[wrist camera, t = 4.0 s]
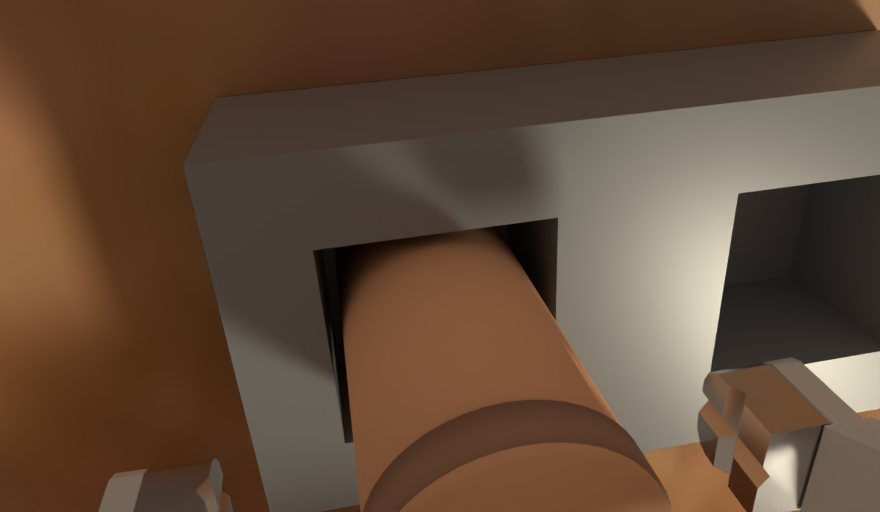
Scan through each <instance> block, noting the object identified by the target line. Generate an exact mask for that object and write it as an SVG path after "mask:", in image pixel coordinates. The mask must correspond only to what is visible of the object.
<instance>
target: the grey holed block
mask: <svg viewBox="0 0 880 512" xmlns="http://www.w3.org/2000/svg"><path fill="white" fill-rule="evenodd" d="M183 169H184V173H185V177H186V181H187V185H188V189H189V193H190V197H191V201H192V205H193V209H194V213H195V217H196V221H197V225H198V228H199V232H200V236H201V240H202V244H203V248H204V252H205V256H206V260H207V264H208V268H209V272H210V276H211V280H212V284H213V288H214V292H215V296H216V300H217V304H218V308H219V312H220V316H221V320H222V324H223V328H224V332H225V336H226V340H227V344H228V348H229V352H230V356H231V360H232V364H233V368H234V372H235V376H236V380H237V384H238V388H239V391H240V395H241V399H242V403H243V407H244V411H245V415H246V419H247V423H248V427H249V431H250V435H251V439H252V443H253V447H254V451H255V455H256V459H257V463H258V467H259V471H260V475H261V479H262V483H263V487H264V491H265V495H266V499H267V503H268V507H269V511H270V512H323V511H328V510H334V509H339V508H345V507H350V506H355V505H360V503H359V493H358V483H357V473H356V462H355V452H354V442H353V432H352V422H351V412H350V401H349V391H348V381H347V371H346V361H345V351H344V341H343V330H342V320H341V310H340V300H339V290H338V280H337V270H336V257H335V256H336V247H342V246H350V245H357V244H365V243H372V242H380V241H387V240H394V239H402V238H409V237H417V236H424V235H432V234H439V233H447V232H454V231H462V230H469V229H477V228H484V227H492V226H497V228H498V230H499V231H500V233H501V234H502V236H503V238H504V239H505V241H506V242H507V244H508V246H509V247H510V249H511V250H512V252H513V254H514V255H515V257H516V258H517V260H518V262H519V263H520V265H521V266H522V268H523V270H524V271H525V273H526V274H527V276H528V278H529V279H530V281H531V282H532V284H533V286H534V287H535V289H536V290H537V292H538V294H539V295H540V297H541V298H542V300H543V301H544V303H545V305H546V306H547V308H548V309H549V311H550V313H551V314H552V316H553V317H554V319H555V321H556V322H557V324H558V325H559V327H560V329H561V330H562V332H563V333H564V335H565V337H566V338H567V340H568V341H569V343H570V345H571V346H572V348H573V349H574V351H575V353H576V354H577V356H578V357H579V359H580V361H581V362H582V364H583V365H584V367H585V369H586V370H587V372H588V373H589V375H590V377H591V378H592V380H593V381H594V383H595V385H596V386H597V388H598V389H599V391H600V393H601V394H602V396H603V397H604V399H605V401H606V402H607V404H608V405H609V407H610V409H611V410H612V412H613V413H614V415H615V417H616V418H617V420H618V421H619V423H620V425H621V426H622V427H623V428H624V429H625V430H626V431H627V432H628V433H629V435H630V436H631V437H632V438H633V439H634V441H635V442H636V444H637V445H638V447H639V448H640V450H641V452H647V451H653V450H658V449H664V448H669V447H674V446H680V445H685V444H691V443H696V442H700V440H699V435H698V430H697V422H698V413H699V411H700V409H701V408H702V407H703V406H704V405H705V404H706V402H707V401H708V398H707V397H706V396H705V395H704V393H703V392H702V389H703V383H704V379H705V378H706V376H707V375H708V373H710V372H716V371H721V370H727V369H732V368H738V367H743V366H749V365H754V364H763V363H764V362H769V361H774V360H779V359H785V358H790V357H792V358H795V359H797V360H799V361H801V362H802V363H803V364H804V365H805V366H806V367H807V368H808V369H810V370H811V371H812V372H813V373H814V374H815V375H816V376H817V377H818V378H819V379H820V380H821V381H823V382H824V383H825V384H826V385H827V386H828V387H829V388H830V389H831V390H832V391H833V392H834V393H835V394H837V395H838V396H839V397H840V398H841V399H842V400H843V401H844V402H845V403H846V404H847V405H848V406H849V407H851V408H852V409H853V410H854V411H855V412H856V413H858V412H863V411H869V410H874V409H880V30H875V31H865V32H855V33H845V34H836V35H826V36H816V37H806V38H797V39H787V40H777V41H767V42H757V43H748V44H738V45H728V46H718V47H709V48H699V49H689V50H679V51H669V52H660V53H650V54H640V55H630V56H621V57H611V58H601V59H591V60H581V61H572V62H562V63H552V64H542V65H532V66H523V67H513V68H503V69H493V70H484V71H474V72H464V73H454V74H444V75H435V76H425V77H415V78H405V79H396V80H386V81H376V82H366V83H356V84H347V85H337V86H327V87H317V88H308V89H298V90H288V91H278V92H268V93H259V94H249V95H239V96H229V97H219V98H215V99H214V101H213V103H212V105H211V107H210V110H209V112H208V114H207V116H206V118H205V120H204V122H203V124H202V126H201V128H200V130H199V133H198V135H197V137H196V139H195V141H194V143H193V145H192V147H191V149H190V151H189V153H188V156H187V158H186V160H185V162H184V164H183Z"/></svg>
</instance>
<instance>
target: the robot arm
mask: <svg viewBox="0 0 880 512" xmlns="http://www.w3.org/2000/svg"><path fill="white" fill-rule="evenodd" d="M702 392H703V393H704V395H705V396H706V397H707V398H708V401H707V402H706V404H705V405H704V406H703V407H702V408H701V409H700V411H699V413H698V422H697V430H698V435H699V440H700V444H701V446H702V448H703V450H704V453H705V455H706V456H707V458H708V459H709V460H710V462H711V463H712V465H713V466H714V467H716V468H718V469H720V470H722V471H724V472H726V473H727V474H729V482H728V487H729V488H730V490H731V491H732V493H733V494H734V495H735V497H736V498H737V499H738V501H739V502H740V503H741V505H742V506H743V508H744V509H745V510H746V512H788V511H794V510H800V509H801V510H800V512H880V421H879V420H877V419H874V418H872V417H870V418H864V419H862V418H861V417H860V416H859V415H858V414H857V413H856V412H855V411H854V410H853V409H852V408H851V407H849V406H848V405H847V404H846V403H845V402H844V401H843V400H842V399H841V398H840V397H839V396H838V395H837V394H835V393H834V392H833V391H832V390H831V389H830V388H829V387H828V386H827V385H826V384H825V383H824V382H823V381H821V380H820V379H819V378H818V377H817V376H816V375H815V374H814V373H813V372H812V371H811V370H810V369H808V368H807V367H806V366H805V365H804V364H803V363H802V362H801V361H799V360H797V359H795V358H792V357H790V358H785V359H779V360H774V361H769V362H764V363H763V364H754V365H749V366H743V367H738V368H732V369H727V370H721V371H716V372H710V373H708V375H707V376H706V378H705V379H704V383H703V389H702ZM222 483H223V473H222V470H221V467H220V464H219V461H218V460H217V459H215V458H210V459H204V460H197V461H190V462H183V463H177V464H170V465H163V466H156V467H150V468H149V469H142V470H134V471H127V472H120V473H115V474H114V475H113V476H112V477H111V479H110V480H109V481H108V483H107V486H106V489H105V492H104V495H103V498H102V501H101V504H100V507H99V510H98V512H234V511H233V506H232V502H231V499H230V496H229V495H228V494H226V493H225V492H223V491H222Z"/></svg>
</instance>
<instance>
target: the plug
mask: <svg viewBox="0 0 880 512" xmlns="http://www.w3.org/2000/svg"><path fill="white" fill-rule="evenodd" d="M335 257H336V270H337V280H338V290H339V300H340V310H341V320H342V330H343V341H344V351H345V361H346V371H347V381H348V391H349V401H350V412H351V422H352V432H353V442H354V452H355V462H356V473H357V483H358V493H359V503H360V512H672V509H671V504H670V501H669V498H668V495H667V492H666V490H665V489H664V487H663V485H662V483H661V482H660V480H659V478H658V477H657V475H656V474H655V472H654V470H653V469H652V467H651V466H650V464H649V463H648V461H647V459H646V458H645V456H644V455H643V453H642V452H641V450H640V448H639V447H638V445H637V444H636V442H635V441H634V439H633V438H632V437H631V436H630V435H629V433H628V432H627V431H626V430H625V429H624V428H623V427H622V426H621V425H620V423H619V421H618V420H617V418H616V417H615V415H614V413H613V412H612V410H611V409H610V407H609V405H608V404H607V402H606V401H605V399H604V397H603V396H602V394H601V393H600V391H599V389H598V388H597V386H596V385H595V383H594V381H593V380H592V378H591V377H590V375H589V373H588V372H587V370H586V369H585V367H584V365H583V364H582V362H581V361H580V359H579V357H578V356H577V354H576V353H575V351H574V349H573V348H572V346H571V345H570V343H569V341H568V340H567V338H566V337H565V335H564V333H563V332H562V330H561V329H560V327H559V325H558V324H557V322H556V321H555V319H554V317H553V316H552V314H551V313H550V311H549V309H548V308H547V306H546V305H545V303H544V301H543V300H542V298H541V297H540V295H539V294H538V292H537V290H536V289H535V287H534V286H533V284H532V282H531V281H530V279H529V278H528V276H527V274H526V273H525V271H524V270H523V268H522V266H521V265H520V263H519V262H518V260H517V258H516V257H515V255H514V254H513V252H512V250H511V249H510V247H509V246H508V244H507V242H506V241H505V239H504V238H503V236H502V234H501V233H500V231H499V230H498V228H497V226H492V227H484V228H477V229H469V230H462V231H454V232H447V233H439V234H432V235H424V236H417V237H409V238H402V239H394V240H387V241H380V242H372V243H365V244H357V245H350V246H342V247H336V256H335Z"/></svg>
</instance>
